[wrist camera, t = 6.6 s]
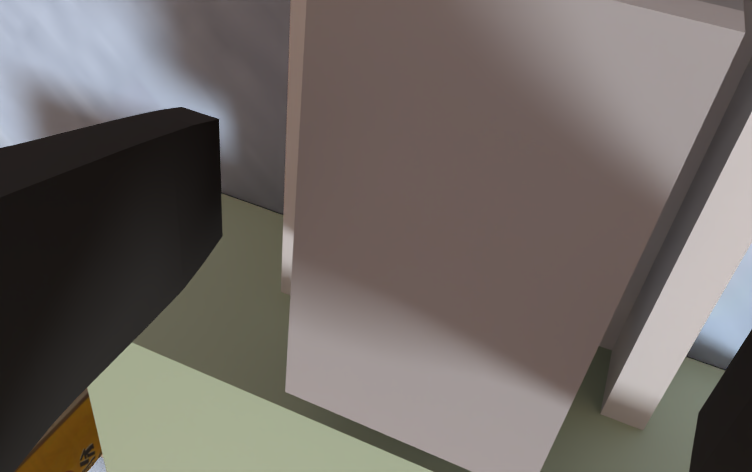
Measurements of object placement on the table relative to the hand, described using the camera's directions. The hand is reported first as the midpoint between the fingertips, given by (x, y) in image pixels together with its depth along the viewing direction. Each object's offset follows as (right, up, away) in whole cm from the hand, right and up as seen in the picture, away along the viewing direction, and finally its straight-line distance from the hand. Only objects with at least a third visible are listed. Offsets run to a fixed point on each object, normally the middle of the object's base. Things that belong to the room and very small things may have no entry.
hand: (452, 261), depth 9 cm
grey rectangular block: (+2, +3, +3) cm, 4 cm away
